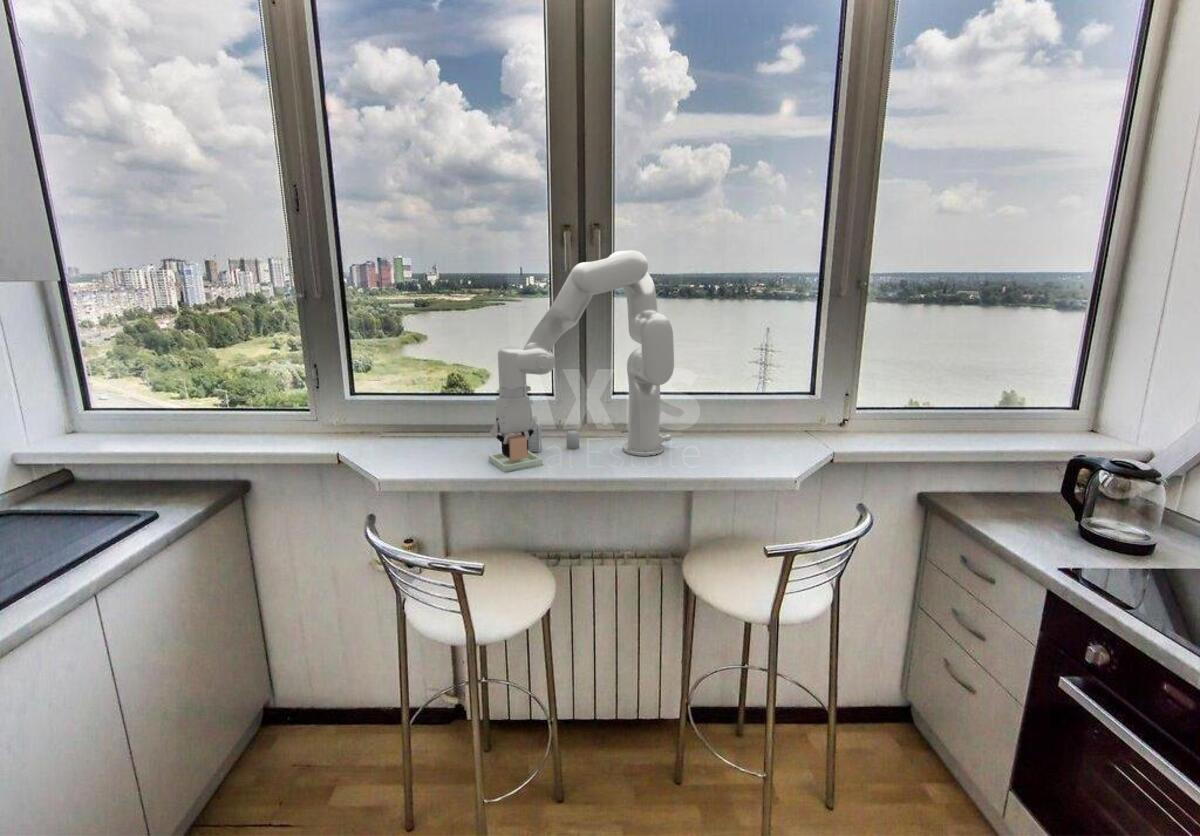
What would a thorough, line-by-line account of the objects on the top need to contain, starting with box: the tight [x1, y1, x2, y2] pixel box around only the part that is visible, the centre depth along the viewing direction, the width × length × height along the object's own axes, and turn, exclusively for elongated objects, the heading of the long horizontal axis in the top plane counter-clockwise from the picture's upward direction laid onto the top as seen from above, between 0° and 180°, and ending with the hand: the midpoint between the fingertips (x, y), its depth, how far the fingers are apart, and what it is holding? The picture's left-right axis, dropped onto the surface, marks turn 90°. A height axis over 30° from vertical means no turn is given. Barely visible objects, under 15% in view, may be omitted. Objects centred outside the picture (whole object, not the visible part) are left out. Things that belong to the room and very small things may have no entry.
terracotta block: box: [505, 433, 527, 461], centre depth 161 cm, size 5×5×6 cm
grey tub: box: [565, 430, 580, 450], centre depth 176 cm, size 4×4×5 cm
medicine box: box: [513, 421, 543, 453], centre depth 173 cm, size 8×4×9 cm, turn 84°
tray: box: [488, 451, 544, 473], centre depth 162 cm, size 12×12×2 cm
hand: (515, 453), depth 162 cm, fingers closed on terracotta block, 4 cm apart
